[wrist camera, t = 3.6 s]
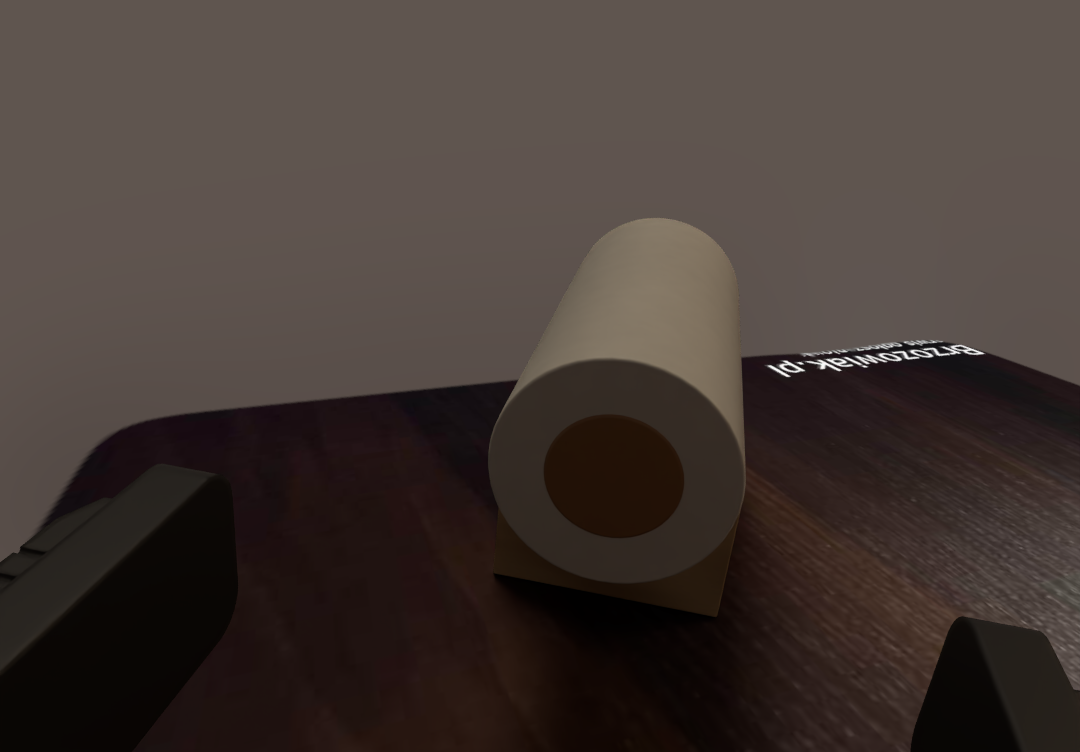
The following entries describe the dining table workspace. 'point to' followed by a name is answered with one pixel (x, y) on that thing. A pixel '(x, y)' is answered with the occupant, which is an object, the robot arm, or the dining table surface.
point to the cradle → (680, 591)
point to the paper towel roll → (630, 412)
